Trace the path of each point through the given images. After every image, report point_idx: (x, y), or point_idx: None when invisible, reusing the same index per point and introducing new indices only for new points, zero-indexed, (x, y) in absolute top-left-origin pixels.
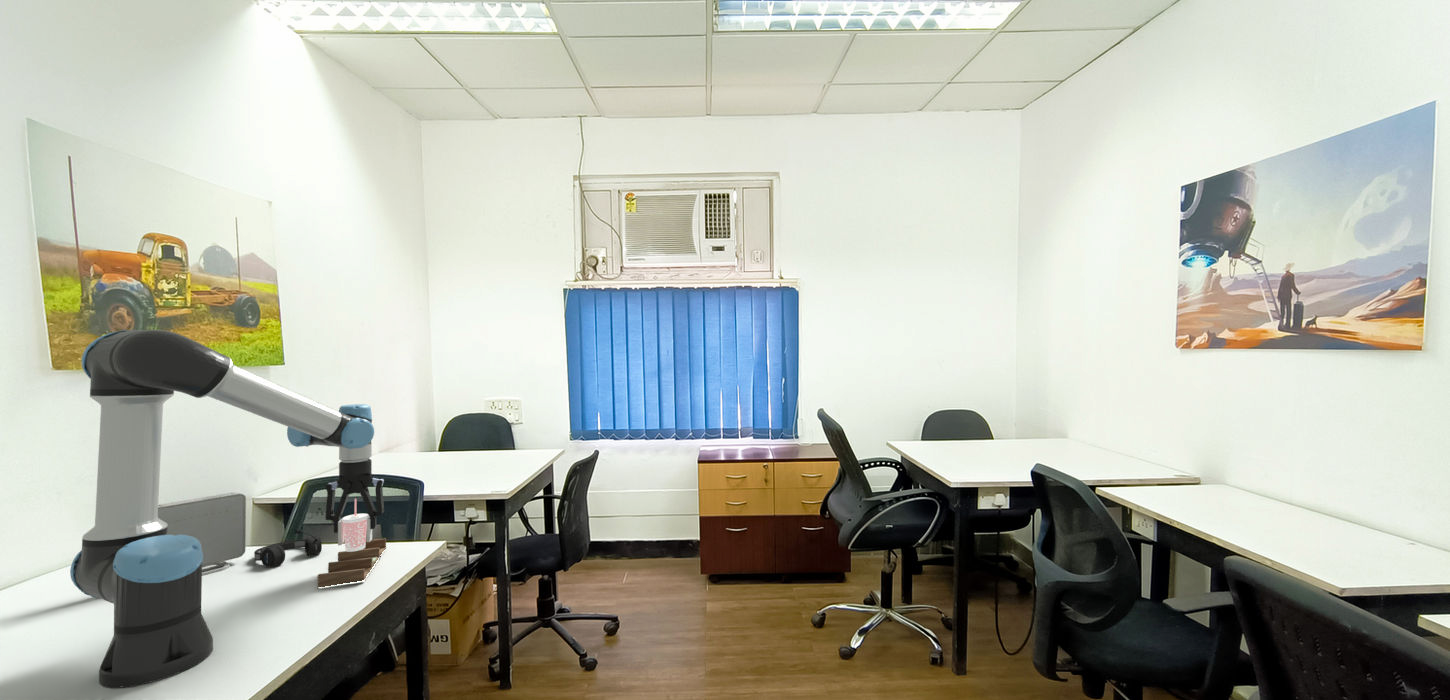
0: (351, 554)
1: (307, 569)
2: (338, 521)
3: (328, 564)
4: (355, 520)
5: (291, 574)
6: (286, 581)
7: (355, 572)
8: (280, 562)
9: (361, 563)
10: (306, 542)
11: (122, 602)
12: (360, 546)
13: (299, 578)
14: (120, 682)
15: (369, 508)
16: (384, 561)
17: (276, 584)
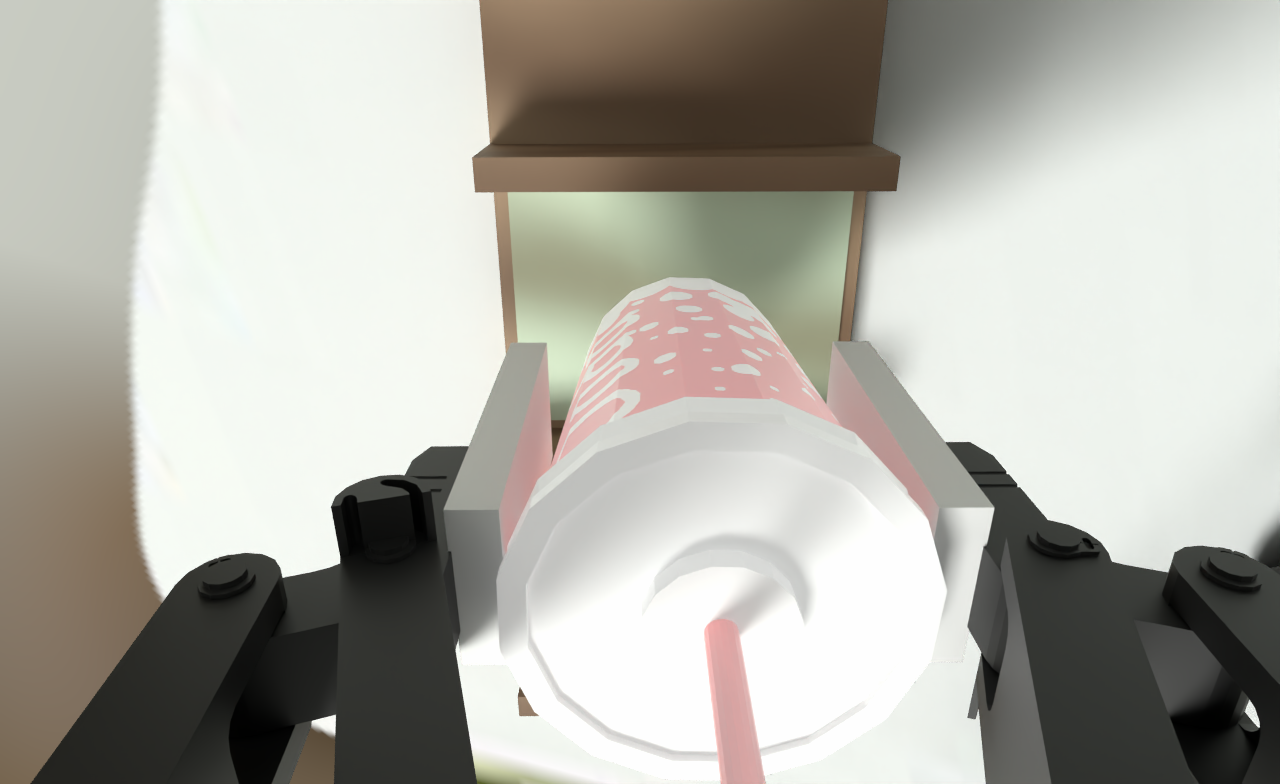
0: None
1: (1056, 398)
2: (989, 541)
3: (895, 154)
4: (671, 421)
5: (1168, 321)
6: (1197, 147)
7: None
8: (1276, 568)
9: (578, 149)
10: None
11: None
12: (614, 315)
13: (1098, 187)
14: None
15: (395, 672)
16: (458, 370)
17: (1273, 96)
